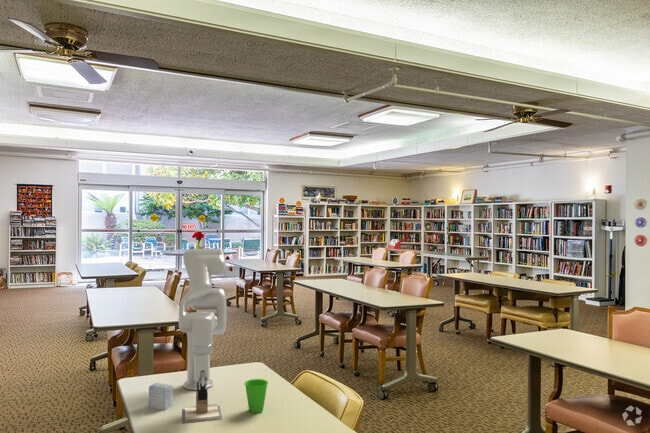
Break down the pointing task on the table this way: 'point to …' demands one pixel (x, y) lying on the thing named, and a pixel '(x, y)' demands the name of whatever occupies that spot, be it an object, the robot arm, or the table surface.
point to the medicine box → (160, 396)
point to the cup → (256, 394)
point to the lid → (201, 411)
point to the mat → (199, 421)
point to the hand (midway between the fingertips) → (202, 395)
